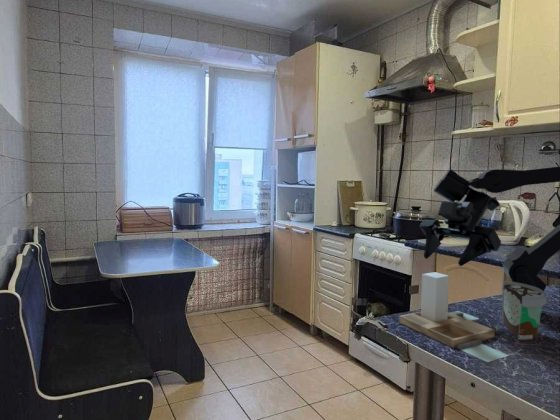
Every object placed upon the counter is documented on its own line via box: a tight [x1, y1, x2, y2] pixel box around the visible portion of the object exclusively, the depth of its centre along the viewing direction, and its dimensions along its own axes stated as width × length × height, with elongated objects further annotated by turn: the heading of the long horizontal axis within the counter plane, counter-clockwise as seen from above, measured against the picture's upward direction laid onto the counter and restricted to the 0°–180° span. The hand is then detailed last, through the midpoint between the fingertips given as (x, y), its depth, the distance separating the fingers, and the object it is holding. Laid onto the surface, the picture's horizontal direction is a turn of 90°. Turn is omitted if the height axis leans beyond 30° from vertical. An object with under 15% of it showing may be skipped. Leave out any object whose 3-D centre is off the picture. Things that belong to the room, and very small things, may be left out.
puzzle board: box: [398, 310, 510, 363], centre depth 86 cm, size 18×22×2 cm
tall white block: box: [420, 271, 450, 322], centre depth 91 cm, size 4×4×11 cm
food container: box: [501, 280, 547, 342], centre depth 85 cm, size 12×6×10 cm, turn 168°
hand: (441, 261), depth 95 cm, fingers open, 9 cm apart
